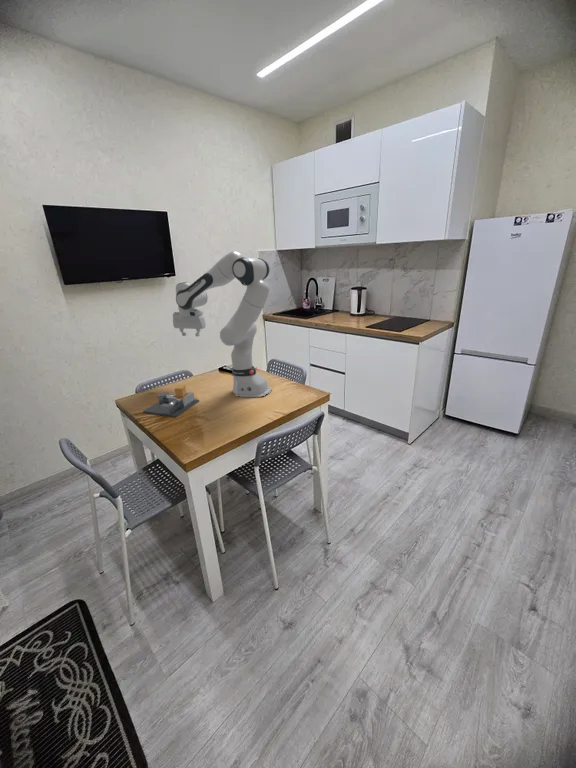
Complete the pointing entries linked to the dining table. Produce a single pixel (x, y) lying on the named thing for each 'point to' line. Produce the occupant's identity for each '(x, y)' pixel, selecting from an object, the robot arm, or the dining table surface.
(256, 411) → the dining table surface
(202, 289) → the robot arm
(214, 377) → the dining table surface
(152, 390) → the dining table surface
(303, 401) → the dining table surface
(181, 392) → the orange brown rectangular block
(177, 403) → the coupling frame
